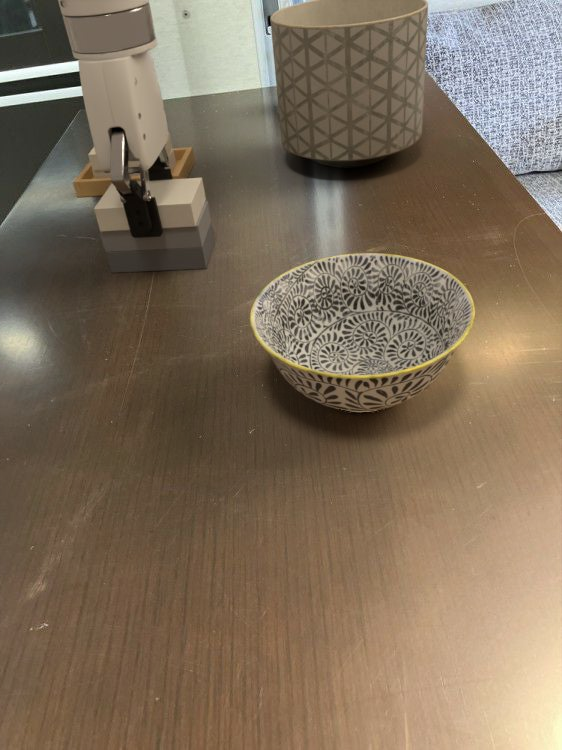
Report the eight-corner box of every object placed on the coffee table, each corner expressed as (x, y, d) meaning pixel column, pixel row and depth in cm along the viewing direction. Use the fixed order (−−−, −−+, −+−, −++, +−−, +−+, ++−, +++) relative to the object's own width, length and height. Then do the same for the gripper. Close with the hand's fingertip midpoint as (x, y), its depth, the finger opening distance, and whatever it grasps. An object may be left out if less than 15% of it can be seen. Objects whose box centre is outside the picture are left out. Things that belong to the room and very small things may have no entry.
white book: (100, 231, 64) (93, 208, 62) (117, 204, 69) (111, 182, 67) (195, 226, 63) (190, 203, 61) (205, 199, 68) (202, 177, 66)
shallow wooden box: (76, 197, 85) (72, 182, 84) (99, 167, 93) (95, 153, 92) (181, 190, 83) (178, 175, 82) (195, 161, 91) (192, 146, 90)
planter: (405, 188, 77) (411, 23, 66) (263, 180, 83) (246, 28, 72) (431, 135, 91) (440, -10, 79) (307, 131, 97) (299, -3, 85)
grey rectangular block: (111, 273, 67) (98, 230, 64) (126, 246, 72) (114, 205, 69) (206, 268, 66) (198, 225, 63) (215, 242, 71) (207, 200, 68)
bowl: (223, 380, 51) (208, 303, 47) (366, 305, 58) (366, 231, 53) (352, 495, 41) (349, 411, 36) (509, 388, 47) (525, 305, 43)
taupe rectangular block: (94, 186, 86) (85, 154, 83) (109, 167, 91) (100, 136, 88) (167, 182, 84) (160, 149, 82) (177, 162, 90) (171, 131, 87)
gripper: (99, 16, 62) (141, 189, 73) (34, 60, 49) (97, 262, 60) (173, 9, 61) (203, 185, 72) (127, 52, 48) (173, 258, 59)
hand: (155, 218), depth 66 cm, fingers closed on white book, 6 cm apart
